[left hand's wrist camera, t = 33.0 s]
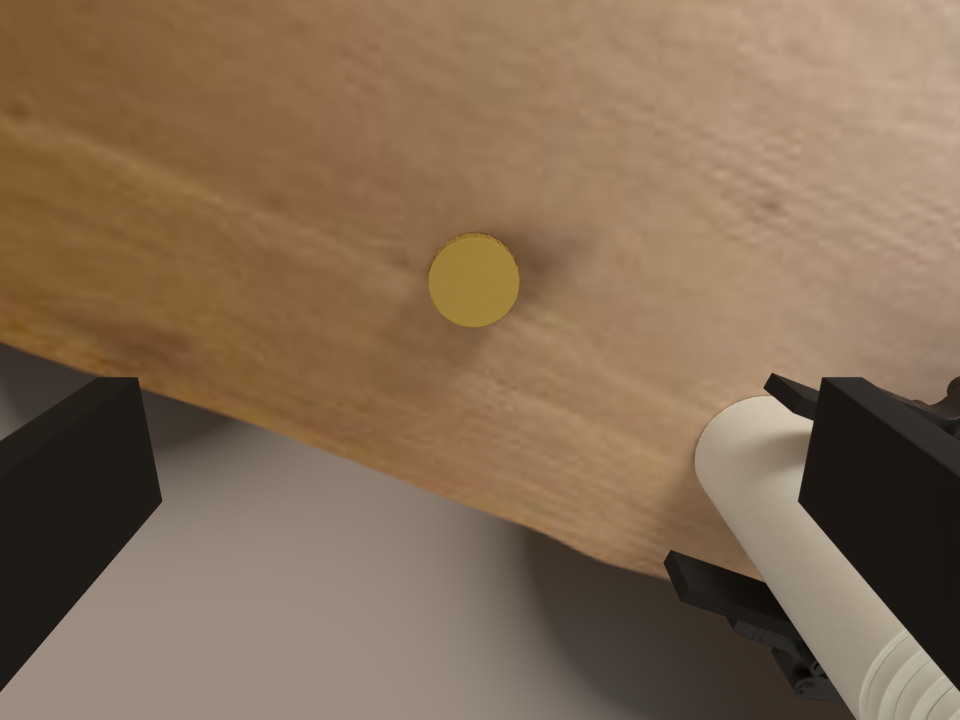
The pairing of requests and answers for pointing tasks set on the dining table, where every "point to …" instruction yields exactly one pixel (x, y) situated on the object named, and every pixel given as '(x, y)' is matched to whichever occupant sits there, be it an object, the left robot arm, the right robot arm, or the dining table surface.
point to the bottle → (814, 566)
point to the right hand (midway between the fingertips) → (726, 488)
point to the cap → (474, 280)
